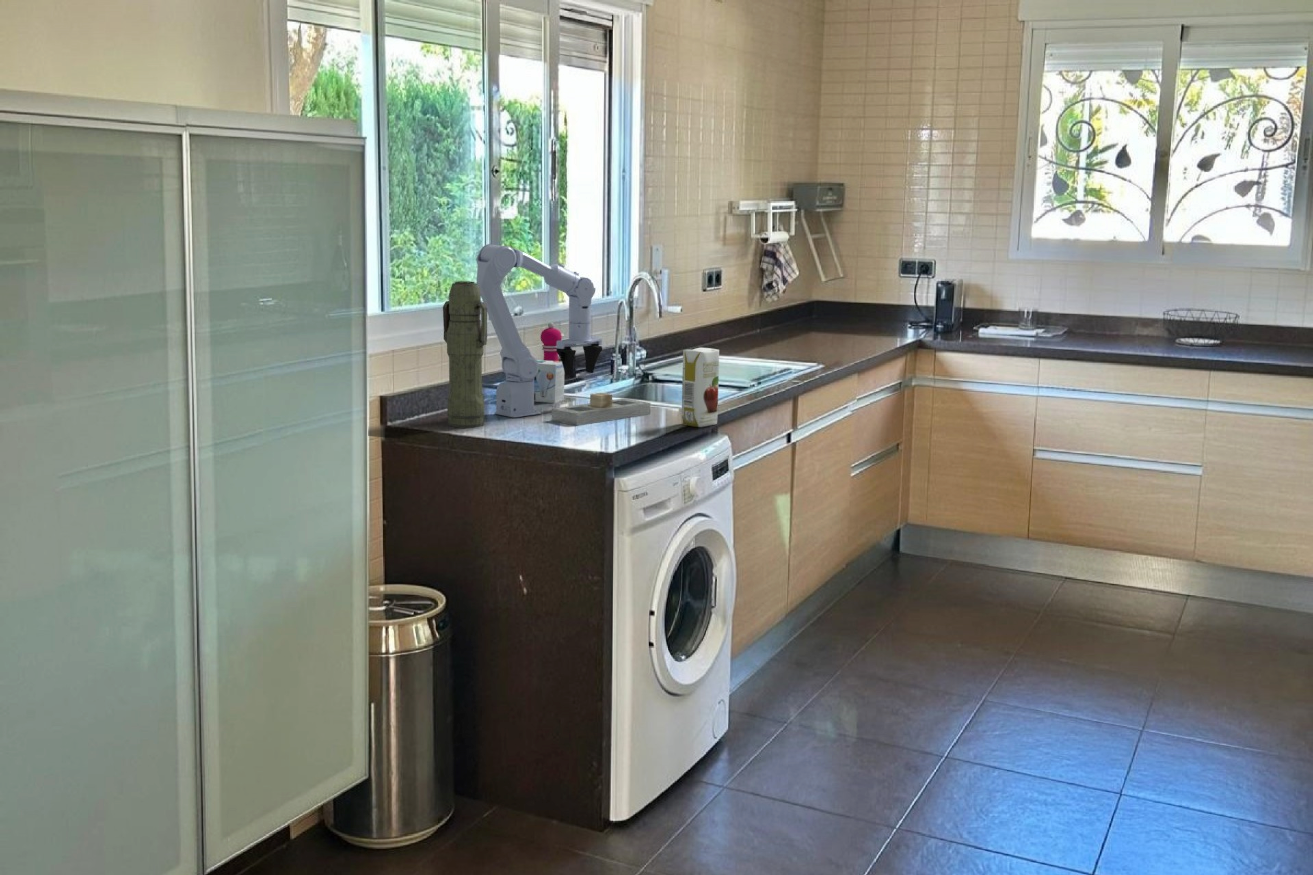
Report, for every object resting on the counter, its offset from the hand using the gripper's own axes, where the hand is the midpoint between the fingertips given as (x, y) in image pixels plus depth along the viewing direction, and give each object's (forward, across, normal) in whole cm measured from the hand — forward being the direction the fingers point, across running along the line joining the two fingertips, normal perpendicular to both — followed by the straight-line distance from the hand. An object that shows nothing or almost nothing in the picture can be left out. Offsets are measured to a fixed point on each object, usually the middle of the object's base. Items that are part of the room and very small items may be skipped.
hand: (579, 373), depth 346 cm
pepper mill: (+10, +13, +26) cm, 31 cm away
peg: (+10, -4, -13) cm, 16 cm away
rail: (+9, -4, -13) cm, 17 cm away
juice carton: (+10, +8, -36) cm, 38 cm away
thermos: (+10, -37, +1) cm, 38 cm away
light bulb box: (+10, +2, +17) cm, 20 cm away
